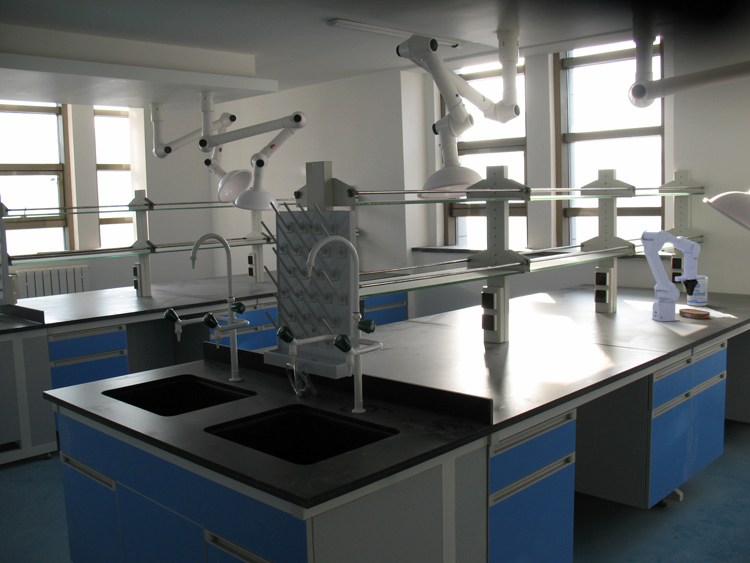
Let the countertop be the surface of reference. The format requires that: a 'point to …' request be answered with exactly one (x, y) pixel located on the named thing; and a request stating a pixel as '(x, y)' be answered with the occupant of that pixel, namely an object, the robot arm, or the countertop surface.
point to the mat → (717, 315)
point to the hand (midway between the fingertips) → (690, 295)
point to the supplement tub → (699, 294)
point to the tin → (694, 313)
